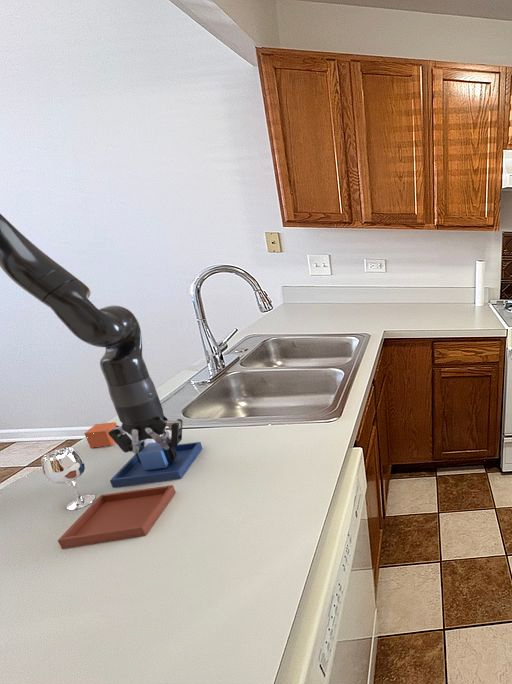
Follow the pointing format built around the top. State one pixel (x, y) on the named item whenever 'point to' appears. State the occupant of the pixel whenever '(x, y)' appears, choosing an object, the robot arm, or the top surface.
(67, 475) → the wineglass
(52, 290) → the robot arm
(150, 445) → the blue block
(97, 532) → the terracotta tray
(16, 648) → the top surface
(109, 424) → the rust block
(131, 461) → the blue tray
